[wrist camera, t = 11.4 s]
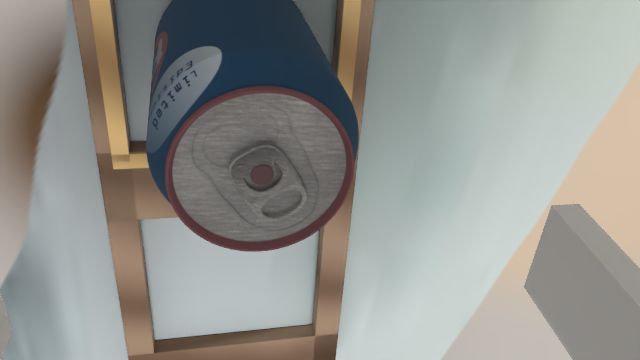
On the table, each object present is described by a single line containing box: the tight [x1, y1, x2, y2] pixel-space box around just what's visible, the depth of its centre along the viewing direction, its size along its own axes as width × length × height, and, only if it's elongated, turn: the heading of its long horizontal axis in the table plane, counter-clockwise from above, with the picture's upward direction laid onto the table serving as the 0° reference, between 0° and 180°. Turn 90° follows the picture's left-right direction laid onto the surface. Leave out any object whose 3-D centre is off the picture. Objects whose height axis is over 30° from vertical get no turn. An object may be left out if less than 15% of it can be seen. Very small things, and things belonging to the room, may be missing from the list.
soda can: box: [146, 0, 359, 251], centre depth 23 cm, size 7×7×12 cm
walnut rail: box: [72, 0, 375, 360], centre depth 31 cm, size 29×13×1 cm, turn 177°
